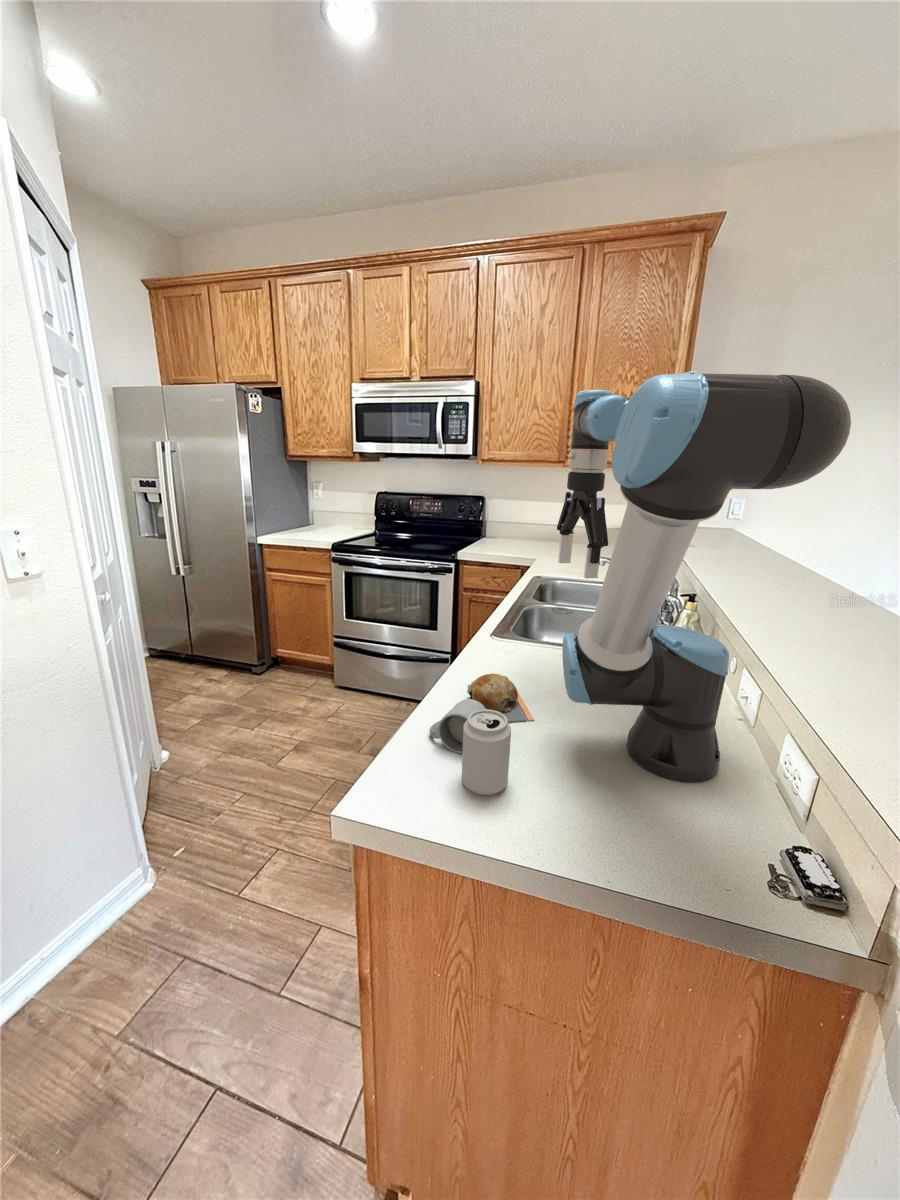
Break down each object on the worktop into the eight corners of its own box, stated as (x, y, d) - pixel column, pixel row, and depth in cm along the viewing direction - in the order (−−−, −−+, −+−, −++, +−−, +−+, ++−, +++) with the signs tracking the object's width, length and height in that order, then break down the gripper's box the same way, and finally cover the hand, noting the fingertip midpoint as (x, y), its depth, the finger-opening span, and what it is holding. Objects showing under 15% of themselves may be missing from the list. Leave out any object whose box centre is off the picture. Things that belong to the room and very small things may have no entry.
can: (494, 805, 74) (498, 737, 70) (452, 787, 78) (454, 721, 74) (515, 778, 80) (519, 714, 76) (475, 763, 84) (478, 701, 80)
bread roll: (491, 732, 99) (507, 706, 95) (455, 698, 103) (469, 672, 98) (515, 712, 106) (531, 687, 102) (481, 681, 110) (495, 656, 106)
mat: (534, 720, 97) (534, 719, 97) (483, 724, 95) (483, 723, 95) (512, 683, 112) (512, 682, 112) (467, 686, 110) (467, 685, 110)
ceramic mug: (490, 733, 92) (491, 697, 90) (477, 758, 85) (478, 719, 83) (439, 722, 96) (439, 687, 94) (422, 745, 89) (421, 707, 86)
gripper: (547, 468, 112) (540, 557, 118) (598, 474, 89) (586, 585, 95) (578, 468, 113) (569, 557, 120) (635, 474, 90) (621, 584, 96)
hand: (576, 570), depth 107 cm, fingers open, 13 cm apart
